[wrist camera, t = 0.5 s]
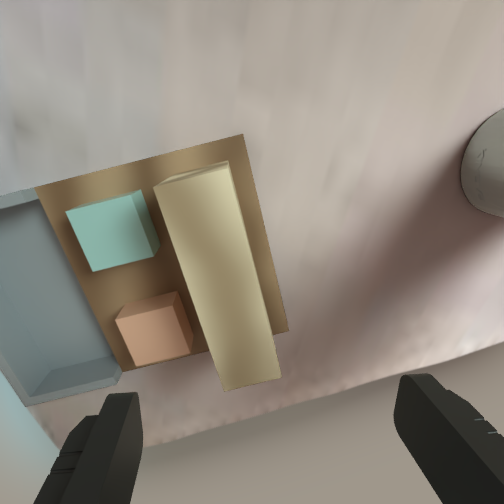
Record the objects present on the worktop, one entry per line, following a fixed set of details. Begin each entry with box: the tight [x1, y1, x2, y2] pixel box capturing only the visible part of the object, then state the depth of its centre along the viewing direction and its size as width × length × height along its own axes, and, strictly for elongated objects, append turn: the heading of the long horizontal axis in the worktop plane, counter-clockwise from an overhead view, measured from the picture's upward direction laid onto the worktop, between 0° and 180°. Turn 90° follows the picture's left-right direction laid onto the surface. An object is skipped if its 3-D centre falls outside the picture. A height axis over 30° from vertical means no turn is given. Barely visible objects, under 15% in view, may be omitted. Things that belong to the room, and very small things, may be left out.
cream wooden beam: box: [153, 160, 282, 392], centre depth 22 cm, size 4×14×7 cm, turn 14°
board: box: [34, 134, 289, 372], centre depth 26 cm, size 16×17×2 cm
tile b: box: [115, 291, 194, 367], centre depth 26 cm, size 4×4×2 cm
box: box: [0, 188, 122, 407], centre depth 26 cm, size 8×17×4 cm, turn 14°
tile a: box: [65, 189, 161, 272], centre depth 23 cm, size 4×4×2 cm
